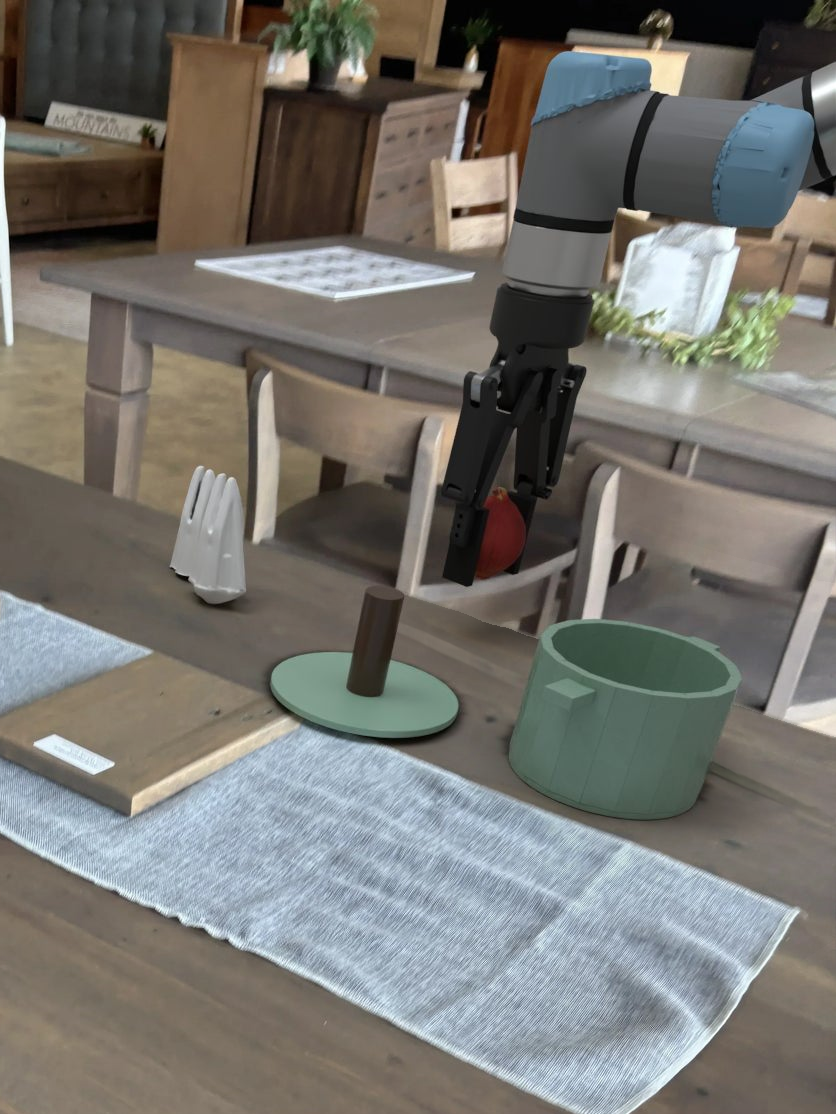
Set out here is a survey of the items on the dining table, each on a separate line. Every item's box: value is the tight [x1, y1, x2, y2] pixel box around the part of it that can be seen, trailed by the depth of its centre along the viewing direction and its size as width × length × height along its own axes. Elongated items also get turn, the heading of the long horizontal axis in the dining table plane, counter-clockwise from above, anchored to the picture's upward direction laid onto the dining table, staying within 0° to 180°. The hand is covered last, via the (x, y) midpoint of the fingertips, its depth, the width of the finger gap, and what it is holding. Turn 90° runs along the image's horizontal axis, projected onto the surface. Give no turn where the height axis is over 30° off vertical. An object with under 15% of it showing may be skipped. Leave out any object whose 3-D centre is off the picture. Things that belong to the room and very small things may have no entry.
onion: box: [474, 486, 526, 581], centre depth 121 cm, size 6×6×8 cm
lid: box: [269, 585, 460, 739], centre depth 111 cm, size 15×15×9 cm
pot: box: [508, 618, 743, 821], centre depth 104 cm, size 14×19×10 cm
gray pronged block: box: [169, 465, 247, 605], centre depth 128 cm, size 12×4×11 cm, turn 12°
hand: (480, 574), depth 124 cm, fingers closed on onion, 6 cm apart
